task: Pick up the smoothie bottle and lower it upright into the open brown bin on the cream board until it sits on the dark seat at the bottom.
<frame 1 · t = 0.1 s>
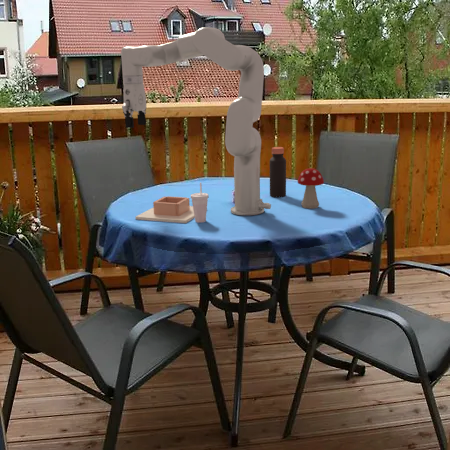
hand: (136, 126, 232), 31 cm above the table, tool pointing down, fingers open, 9 cm apart
decorative mushroom: (310, 207, 230), on the table
smoothie: (200, 221, 214), on the table
open brown bin: (172, 214, 224), on the table
vinegar: (277, 196, 249), on the table
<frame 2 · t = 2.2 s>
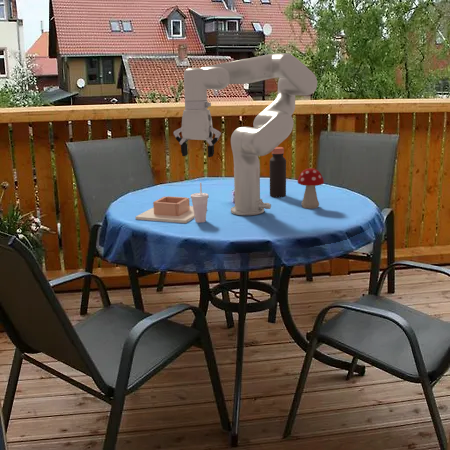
hand: (197, 156, 207), 23 cm above the table, tool pointing down, fingers open, 9 cm apart
nothing on the table moved.
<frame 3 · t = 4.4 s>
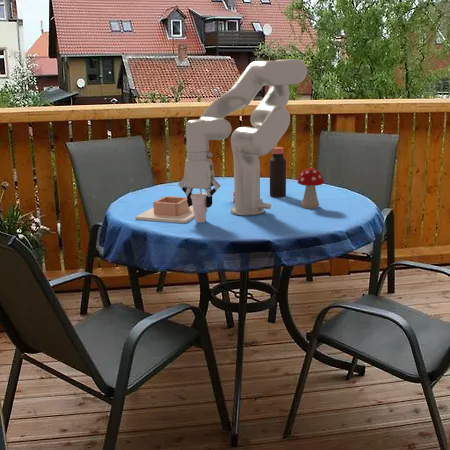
hand: (199, 205, 212), 6 cm above the table, tool pointing down, fingers closed on smoothie, 6 cm apart
smoothie: (200, 221, 214), on the table, touching gripper
everything else where it was.
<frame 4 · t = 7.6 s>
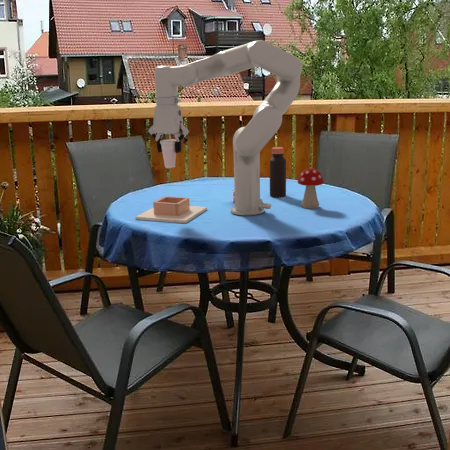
hand: (169, 151, 217), 24 cm above the table, tool pointing down, fingers closed on smoothie, 6 cm apart
smoothie: (170, 167, 219), point 18 cm above the table, touching gripper
everything else where it was.
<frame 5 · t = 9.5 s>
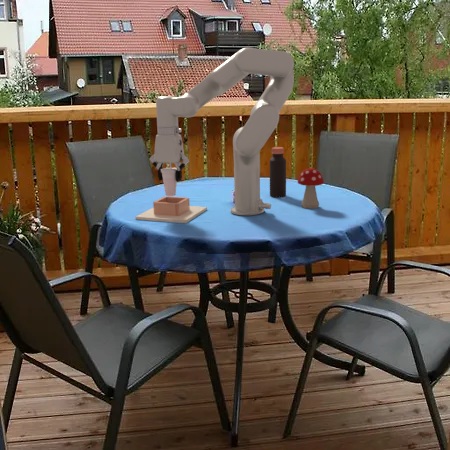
hand: (170, 179, 220), 13 cm above the table, tool pointing down, fingers closed on smoothie, 6 cm apart
smoothie: (170, 195, 222), point 7 cm above the table, touching gripper
everything else where it was.
when the fingers open (8 cm above the table, at t = 11.0 s): smoothie drops 1 cm, resting on open brown bin.
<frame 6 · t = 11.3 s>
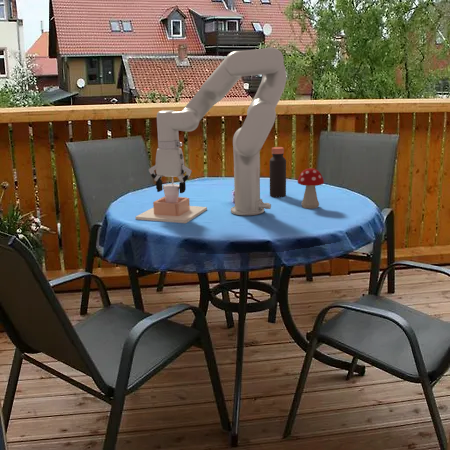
hand: (171, 191, 222), 9 cm above the table, tool pointing down, fingers open, 8 cm apart
smoothie: (172, 211, 224), point 1 cm above the table, touching open brown bin
everything else where it was.
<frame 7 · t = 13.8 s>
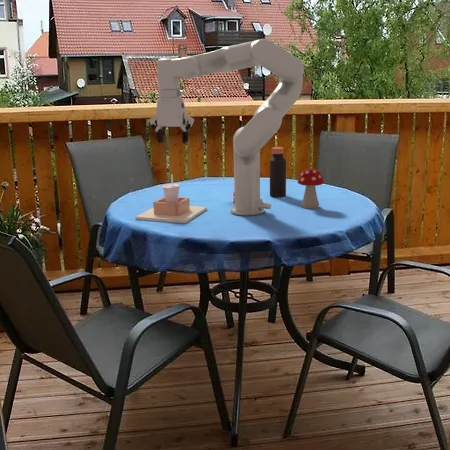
hand: (172, 142, 218), 27 cm above the table, tool pointing down, fingers open, 9 cm apart
nothing on the table moved.
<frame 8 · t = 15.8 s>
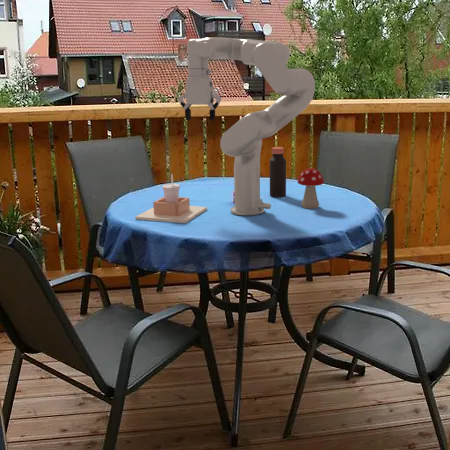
hand: (200, 120, 227), 33 cm above the table, tool pointing down, fingers open, 9 cm apart
nothing on the table moved.
at the end: smoothie 0.1 cm off-centre on the open brown bin, point 1.0 cm above the open brown bin's base; smoothie tilted 0°; the gripper is holding nothing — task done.
